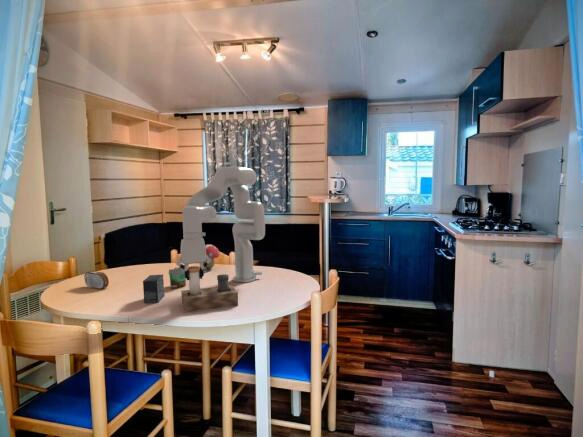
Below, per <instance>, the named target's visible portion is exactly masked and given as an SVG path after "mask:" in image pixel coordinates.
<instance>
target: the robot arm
mask: <svg viewBox="0 0 583 437" xmlns="http://www.w3.org/2000/svg"><path fill="white" fill-rule="evenodd" d="M256 181H257V174H256V171H255V170H254V169H252V168H249V167H245V166H244V167H243V166H237V165H236V166H222V167H221V166H220V167H219V168H217V170H216V172H215V173H214V175H213V176H212V178H211V179H210V182H209V183H208V185H207V186H205V187H203V188H202V189H200V190H199V191H197V192H196V193H194V194H193V195H192V196H190V198H189V200H188V201H187V202H186V203H185V206H184V207H183V208H182V213H181V214H182V230H183V231H182V234H183V235H182V236H183V239H181V241H180V256H179V257H178V259H177V260H176V261H175V265H177V267H181V268H182V269H183V270H184V271H185V278H186V281H189V271H188V267H189V265H190V264H199V267H200V280H203V277H204V274H205V273H204V269H206V268H205V267H206V266H207V265H208V264H209V263H210V262H211V259H210V258H209V257H208V256H207V254H206V248H205V245H206V244H205V243H206V242H205V240H204V238H203V237H205V236H207V235H206V232H203V226H202V224H203V223H211V222H213V221H214V220H216V217H217V215H218V214H217V209H216V208H215V206H213V205H210V204H209V203H212V202H215V201H218V200H220V199H222V198H223V197H224V196H225V194H226V193H227V191H228V189H229V188H230V189H231V192H232V194H233V207H234V208H233V209H234V210H233V211H234V216H235V217H236V219H240V220H241V221H236V222H235V223H234V224H233V226H232V236H233V241H234V265H235V266H234V267H235V268H234V269H235V270H234V271H235V272H234V273H235V276H233V277H232V280H233V281H234V282H236V283H250V282H255V280H257V276H262V274H263V273H262V272H263V271H259V270H258V271H257V270H256V271H255V270H254V250H253V249H254V248H253V244H252V243H251V240H253V241H260V240H262V239H264V238H265V236H266V217H265V207H264V204H263V203H262V202H260V201H253V200H251V196H250V190H249V188H248V187H249V186H250V187H251V186H254V185H255V183H256ZM243 220H253V221H243ZM206 259H207V261H206ZM205 261H206V262H205ZM203 262H204V264H203Z"/></svg>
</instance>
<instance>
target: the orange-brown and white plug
mask: <svg viewBox="0 0 583 437" xmlns="http://www.w3.org/2000/svg"><path fill="white" fill-rule="evenodd" d="M188 271H189V280H188V285H189V286H188V288H189V289H188V290H189V295H190V296H191V295H199V294H200V289H201V279H200V265H192V266H188Z"/></svg>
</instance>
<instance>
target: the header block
mask: <svg viewBox="0 0 583 437" xmlns="http://www.w3.org/2000/svg"><path fill="white" fill-rule="evenodd" d="M181 305H182V309H183V313H193V312H200V311H201V312H202V311H208V310H215V309H223V308H231V307H237V306H239V291H237V290H236V289H235V287H234V286H233V285H229V284H228V291H225V292H218V286H212V287H204V288H203V287H202V288H200V294H199V295H191V296H190V295H189V289H186V290H181Z"/></svg>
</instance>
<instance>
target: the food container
mask: <svg viewBox="0 0 583 437" xmlns="http://www.w3.org/2000/svg"><path fill="white" fill-rule="evenodd" d="M168 275H169V282H170V289H171V290H172V289H173V290H175V289H182V288H185V287H186V285H187V279H186V278H185V271H184V270H183V269H182V268H181V267H180V266H177V267H174V268H173V269H168Z"/></svg>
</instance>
